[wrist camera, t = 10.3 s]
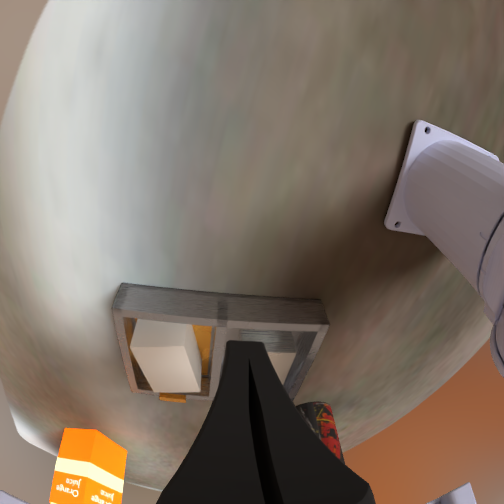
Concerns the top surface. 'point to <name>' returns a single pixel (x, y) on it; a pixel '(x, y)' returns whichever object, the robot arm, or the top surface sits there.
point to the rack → (223, 331)
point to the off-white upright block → (167, 355)
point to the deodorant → (322, 424)
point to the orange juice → (88, 469)
